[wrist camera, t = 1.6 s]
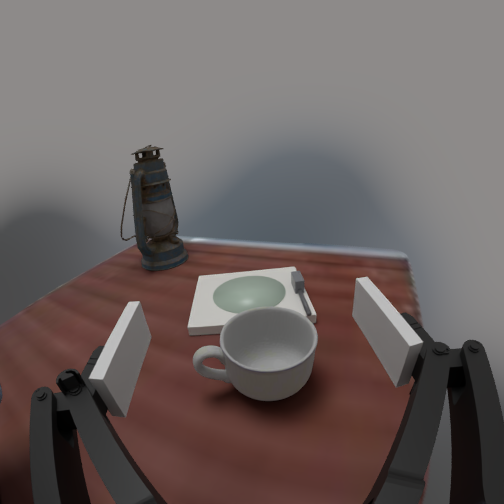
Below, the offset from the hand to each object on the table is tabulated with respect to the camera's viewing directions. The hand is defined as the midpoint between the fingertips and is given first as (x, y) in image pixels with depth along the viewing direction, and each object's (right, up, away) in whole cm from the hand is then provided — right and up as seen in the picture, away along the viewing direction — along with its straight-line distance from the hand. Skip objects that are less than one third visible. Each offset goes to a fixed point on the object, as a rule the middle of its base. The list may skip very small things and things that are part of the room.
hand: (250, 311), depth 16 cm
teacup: (+1, -13, +17) cm, 21 cm away
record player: (0, -5, +35) cm, 35 cm away
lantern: (-24, +1, +57) cm, 61 cm away
